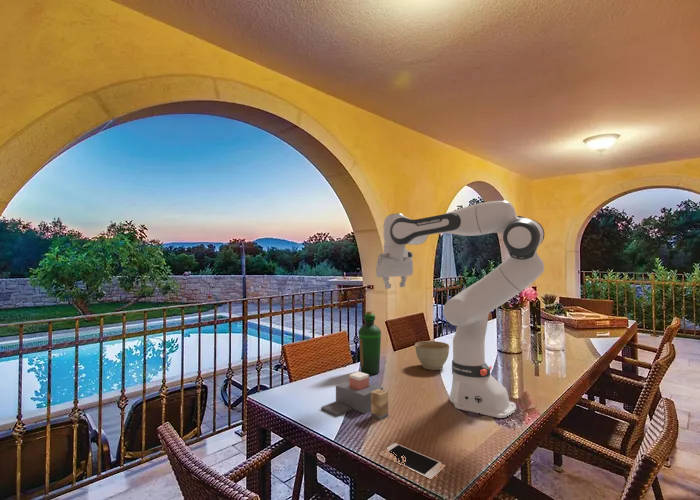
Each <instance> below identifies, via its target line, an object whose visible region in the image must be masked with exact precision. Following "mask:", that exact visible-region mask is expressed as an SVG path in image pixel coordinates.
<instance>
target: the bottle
mask: <svg viewBox="0 0 700 500" xmlns="http://www.w3.org/2000/svg"><path fill="white" fill-rule="evenodd" d="M363 320H364V321H365V322H364V323H365V324H363V325H362V326H360V327H359V329H358V341H359V342H358V343H359V344H358V345H359V358H360V361H359V362H360V372H362V373H366V374H369V376H373V375H377V374H379V373H380V367H381V366H380V364H381V346H382V345H381V341H382V339H381V338H382V330H381V329H380V327H379V326H377V325H375V321H376V315H375V313H374V311H373V310H367V311H365V313H364V316H363Z"/></svg>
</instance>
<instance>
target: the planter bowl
mask: <svg viewBox="0 0 700 500" xmlns="http://www.w3.org/2000/svg"><path fill="white" fill-rule="evenodd" d="M414 347H415V353H416V357H417V359H418V360H419V362H420V364H421V366H422V368H423V369H425V370H430V371H437V370H439V371H440V370H442V369H443V367H444V365H445V364H446V362H447V360H448V357H449V352H450V345H449V344H448V343H446V342H444V341H443V342H442V341H438V340H436V341H434V340H425V341H418V342H416V343H415V344H414Z"/></svg>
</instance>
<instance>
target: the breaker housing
mask: <svg viewBox="0 0 700 500" xmlns="http://www.w3.org/2000/svg"><path fill="white" fill-rule="evenodd" d="M377 389H381V390H384V387H382V386H379V385H376V384H372V383H371V382H369V387H367V388H365V389H362V390H360V391H359V390H356V389H354V388H351V387H349V380H347V381H344V382H342V383H339V384H336V385H335V402H339V403H341V404H344V405H346V406H349V407H351V408H352V410H354V411H358V412H360V413H363V414H364V413H365V414H366V413H369V412H371V392H372V391H375V390H377Z"/></svg>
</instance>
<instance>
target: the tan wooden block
mask: <svg viewBox="0 0 700 500" xmlns="http://www.w3.org/2000/svg"><path fill="white" fill-rule="evenodd" d="M370 413H371V414H370V415H371V416H372V418H374V417H375V418H374V419H376V418H377V420H378V421H381V419H382V420H383V419H386V418H388V417H389V391H386V390H384V389H383V390H381V389H377V390H375V391H372V392H371V411H370ZM371 416H370V417H371Z"/></svg>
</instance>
